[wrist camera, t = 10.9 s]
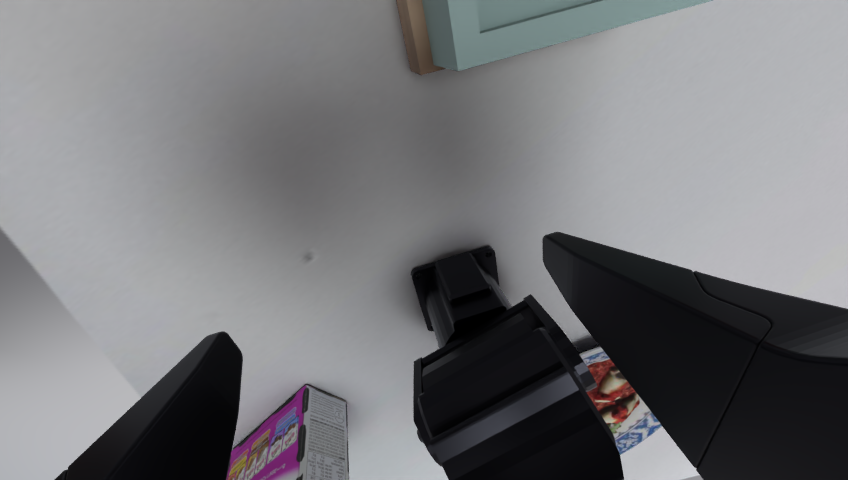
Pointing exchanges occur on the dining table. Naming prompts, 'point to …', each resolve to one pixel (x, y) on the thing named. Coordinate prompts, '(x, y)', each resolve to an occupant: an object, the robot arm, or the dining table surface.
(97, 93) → the dining table surface
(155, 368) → the dining table surface
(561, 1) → the top block
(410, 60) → the bottom block
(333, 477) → the candy bar box
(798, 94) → the dining table surface
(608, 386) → the ceramic plate
